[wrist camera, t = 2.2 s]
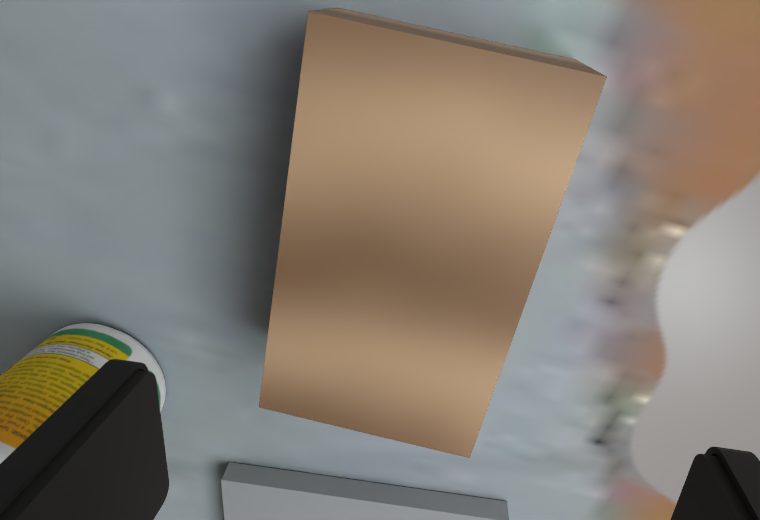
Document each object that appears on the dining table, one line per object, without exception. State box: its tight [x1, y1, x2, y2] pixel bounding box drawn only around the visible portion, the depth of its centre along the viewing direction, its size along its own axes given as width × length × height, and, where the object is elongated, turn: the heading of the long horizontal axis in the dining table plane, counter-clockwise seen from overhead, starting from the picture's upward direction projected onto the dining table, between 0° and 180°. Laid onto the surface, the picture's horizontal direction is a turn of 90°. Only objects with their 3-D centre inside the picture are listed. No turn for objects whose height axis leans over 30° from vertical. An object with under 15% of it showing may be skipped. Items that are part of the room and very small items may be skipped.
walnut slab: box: [259, 8, 607, 458], centre depth 17 cm, size 12×7×4 cm, turn 169°
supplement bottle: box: [0, 323, 166, 464], centre depth 19 cm, size 5×5×10 cm
